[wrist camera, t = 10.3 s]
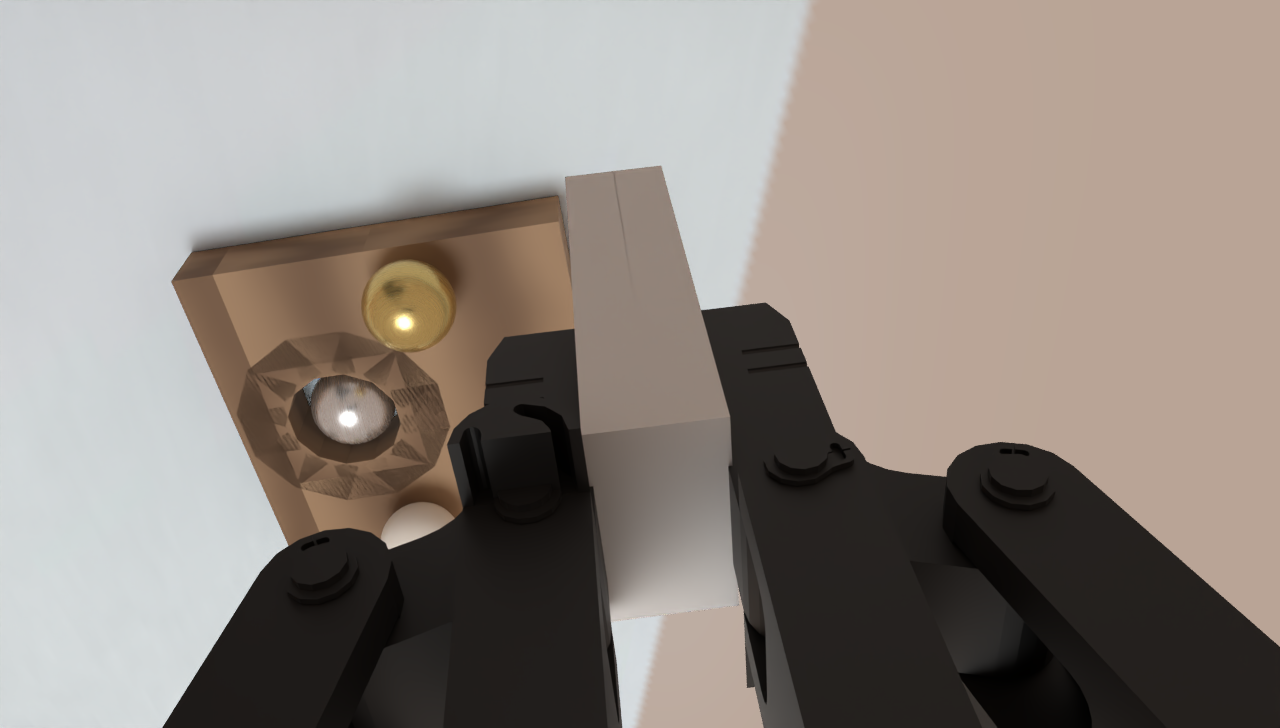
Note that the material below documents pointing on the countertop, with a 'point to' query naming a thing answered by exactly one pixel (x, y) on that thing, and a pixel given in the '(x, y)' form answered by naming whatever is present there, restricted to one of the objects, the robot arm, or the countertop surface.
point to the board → (368, 350)
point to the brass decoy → (408, 306)
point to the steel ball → (350, 409)
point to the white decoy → (414, 523)
